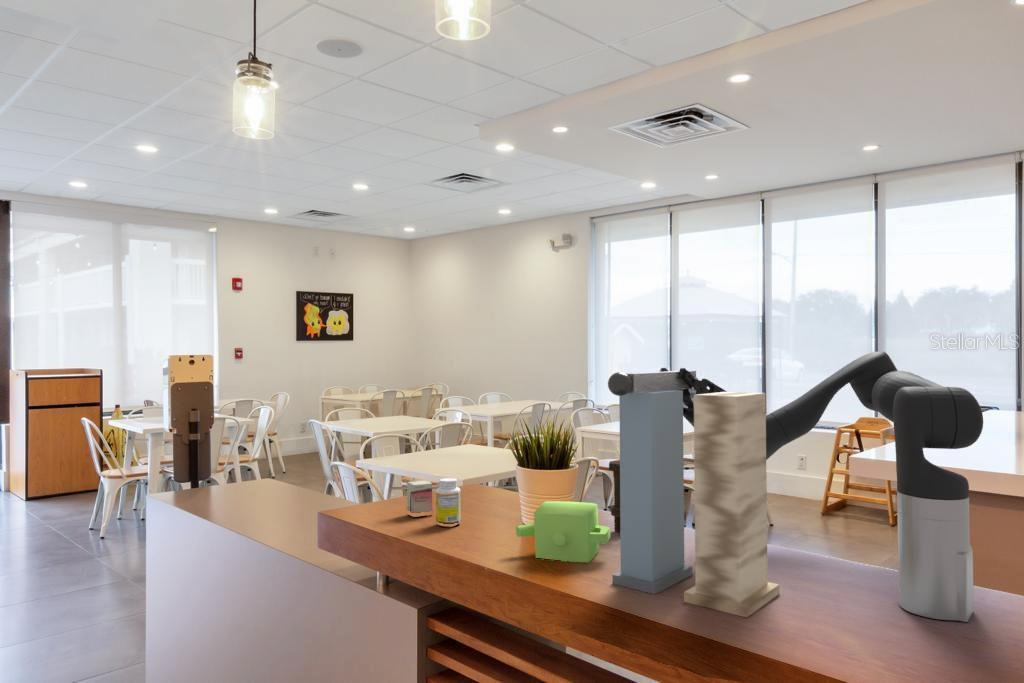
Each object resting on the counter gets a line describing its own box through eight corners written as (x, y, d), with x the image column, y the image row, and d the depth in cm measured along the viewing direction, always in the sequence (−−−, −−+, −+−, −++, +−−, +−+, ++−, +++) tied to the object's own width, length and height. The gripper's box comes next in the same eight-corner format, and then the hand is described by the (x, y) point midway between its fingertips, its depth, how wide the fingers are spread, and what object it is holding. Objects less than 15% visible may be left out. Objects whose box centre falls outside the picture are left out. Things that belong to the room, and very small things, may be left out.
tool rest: (779, 593, 110) (777, 393, 111) (746, 617, 101) (744, 397, 101) (719, 580, 117) (717, 391, 117) (683, 601, 107) (681, 394, 108)
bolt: (633, 535, 146) (632, 464, 146) (609, 534, 147) (608, 463, 147) (633, 528, 152) (633, 460, 152) (610, 527, 153) (610, 459, 153)
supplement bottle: (444, 521, 160) (444, 476, 160) (465, 523, 157) (465, 478, 157) (431, 526, 155) (431, 480, 155) (452, 529, 152) (452, 482, 152)
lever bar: (697, 389, 127) (697, 369, 127) (623, 396, 108) (623, 372, 108) (679, 389, 130) (678, 369, 130) (603, 396, 111) (603, 372, 111)
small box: (413, 518, 162) (412, 484, 162) (406, 514, 166) (406, 481, 166) (433, 516, 165) (432, 482, 165) (426, 512, 168) (426, 480, 169)
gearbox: (509, 562, 130) (507, 511, 130) (525, 545, 139) (523, 498, 139) (604, 569, 124) (602, 516, 124) (613, 551, 134) (612, 502, 133)
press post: (692, 574, 120) (690, 390, 121) (655, 594, 110) (653, 393, 111) (651, 565, 125) (650, 388, 126) (612, 583, 116) (611, 392, 116)
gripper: (739, 434, 129) (703, 392, 118) (671, 429, 138) (631, 389, 127) (747, 398, 132) (712, 353, 121) (679, 396, 141) (641, 354, 130)
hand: (671, 372), depth 124 cm, fingers closed on lever bar, 3 cm apart
